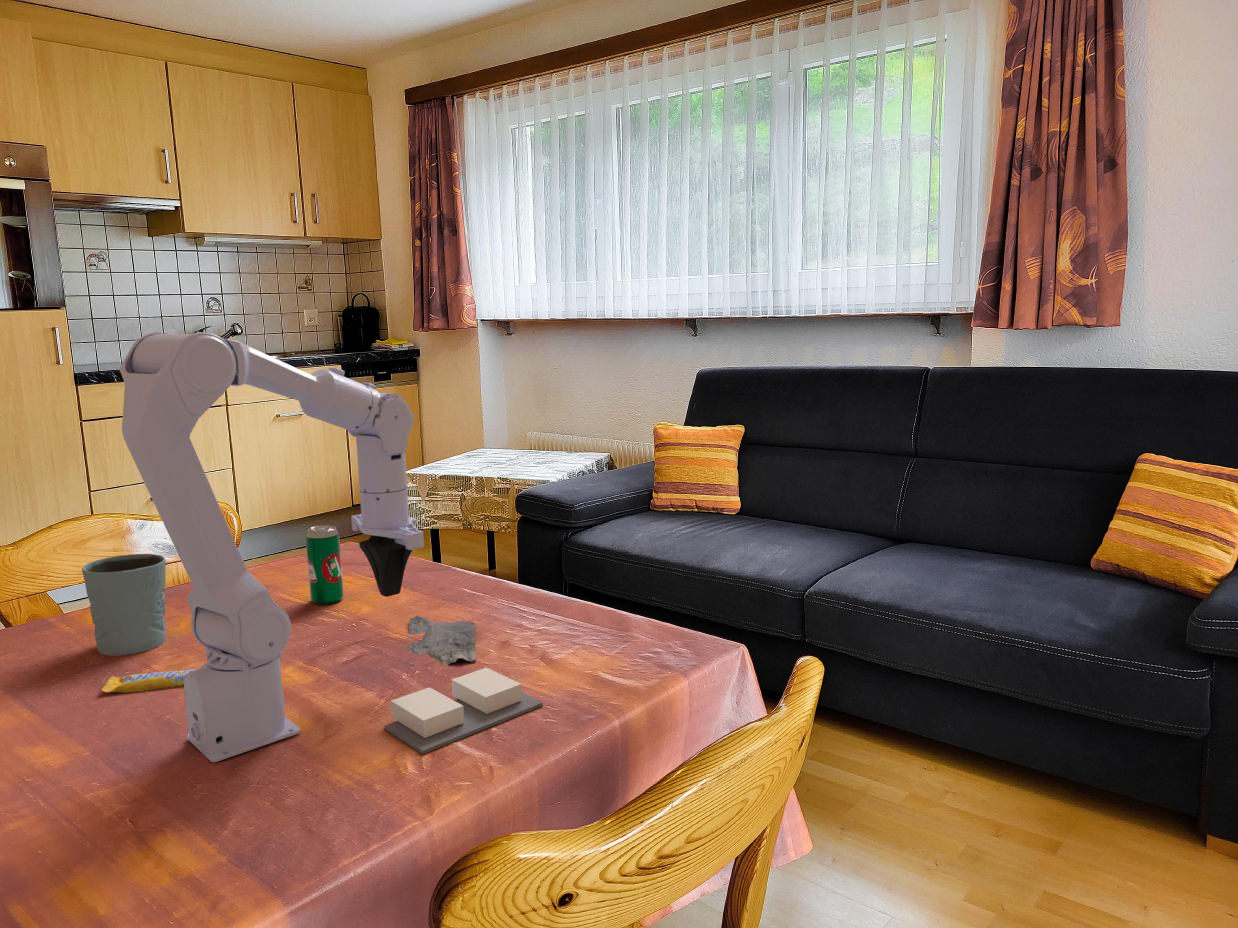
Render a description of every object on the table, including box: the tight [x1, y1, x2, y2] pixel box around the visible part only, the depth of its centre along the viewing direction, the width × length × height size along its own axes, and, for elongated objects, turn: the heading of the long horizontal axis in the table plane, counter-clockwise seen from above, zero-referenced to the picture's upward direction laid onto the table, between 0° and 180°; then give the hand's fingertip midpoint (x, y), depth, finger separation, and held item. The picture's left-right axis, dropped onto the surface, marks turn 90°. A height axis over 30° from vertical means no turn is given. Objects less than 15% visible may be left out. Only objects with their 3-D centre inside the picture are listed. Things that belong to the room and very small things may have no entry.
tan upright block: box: [451, 667, 523, 714], centre depth 104 cm, size 5×2×7 cm
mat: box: [383, 692, 544, 755], centre depth 100 cm, size 16×8×1 cm, turn 134°
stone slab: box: [405, 615, 477, 667], centre depth 124 cm, size 18×2×10 cm
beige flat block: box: [390, 687, 464, 738], centre depth 99 cm, size 5×2×7 cm
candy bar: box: [100, 668, 197, 694], centre depth 112 cm, size 17×4×2 cm, turn 104°
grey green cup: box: [81, 553, 167, 657], centre depth 124 cm, size 10×10×12 cm
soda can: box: [305, 524, 344, 606], centre depth 142 cm, size 5×5×12 cm
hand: (390, 594), depth 112 cm, fingers closed
